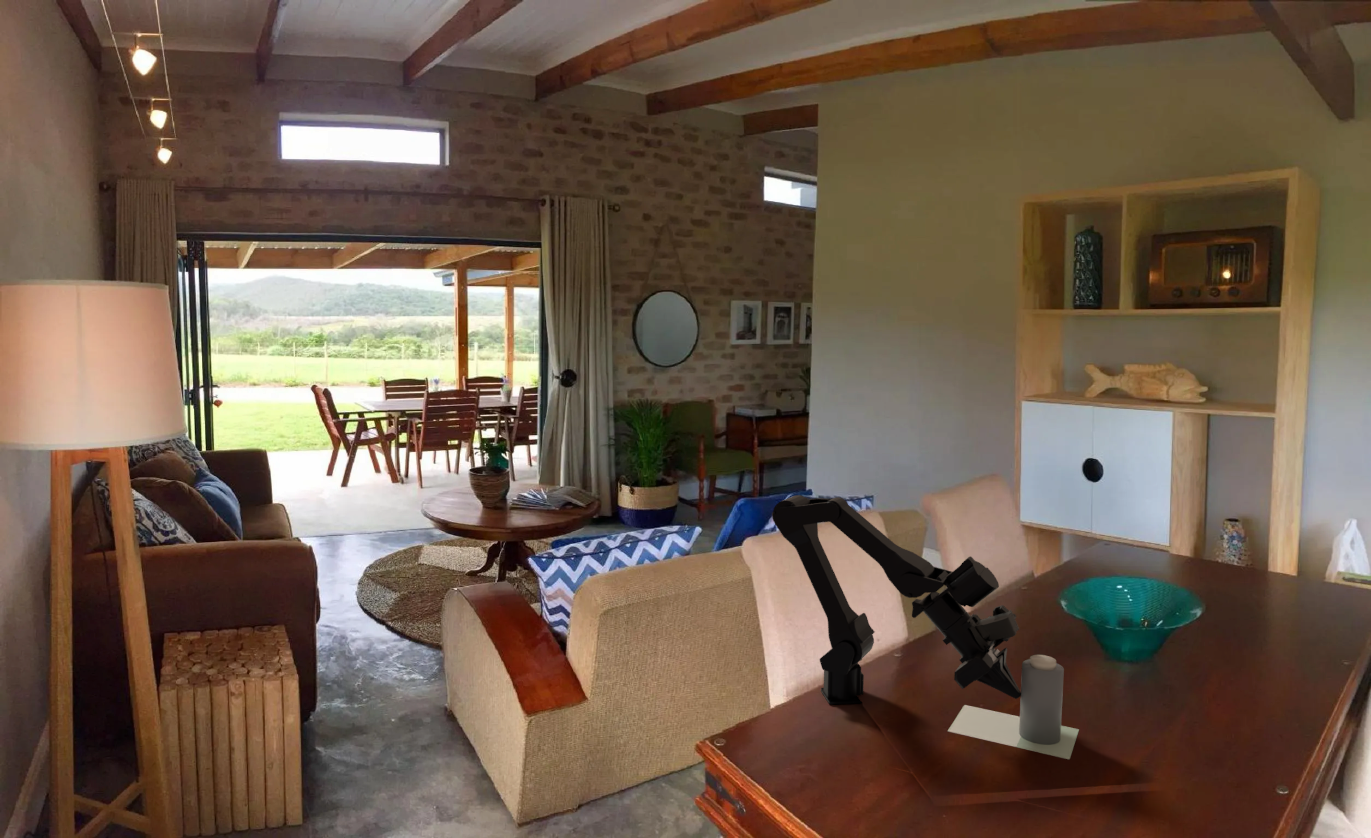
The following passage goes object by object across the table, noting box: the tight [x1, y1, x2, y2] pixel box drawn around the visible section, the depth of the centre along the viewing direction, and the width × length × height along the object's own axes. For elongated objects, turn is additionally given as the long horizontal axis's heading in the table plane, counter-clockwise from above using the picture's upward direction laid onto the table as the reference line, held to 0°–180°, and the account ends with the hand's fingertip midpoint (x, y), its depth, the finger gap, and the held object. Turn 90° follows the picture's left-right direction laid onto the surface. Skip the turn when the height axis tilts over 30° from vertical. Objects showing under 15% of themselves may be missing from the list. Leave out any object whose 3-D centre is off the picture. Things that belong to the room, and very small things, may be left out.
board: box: [947, 704, 1080, 760], centre depth 149 cm, size 19×12×1 cm, turn 59°
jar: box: [1019, 654, 1065, 745], centre depth 146 cm, size 6×6×13 cm
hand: (1019, 696), depth 148 cm, fingers closed
